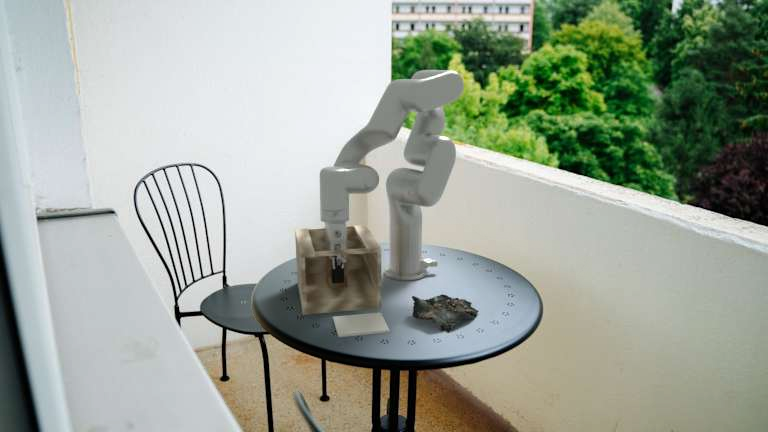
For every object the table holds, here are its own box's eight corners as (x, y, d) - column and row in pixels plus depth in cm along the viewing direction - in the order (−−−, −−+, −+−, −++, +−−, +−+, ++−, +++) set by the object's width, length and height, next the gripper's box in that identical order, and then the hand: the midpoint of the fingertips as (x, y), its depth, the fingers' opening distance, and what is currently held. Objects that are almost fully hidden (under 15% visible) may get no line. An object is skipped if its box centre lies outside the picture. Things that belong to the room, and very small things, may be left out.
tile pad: (380, 314, 145) (380, 312, 144) (389, 332, 135) (389, 329, 135) (332, 318, 142) (332, 316, 142) (338, 337, 133) (338, 334, 133)
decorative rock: (432, 282, 156) (486, 288, 148) (433, 304, 157) (486, 311, 149) (400, 303, 139) (459, 311, 132) (401, 327, 140) (459, 336, 133)
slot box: (366, 277, 169) (365, 224, 165) (381, 307, 148) (381, 248, 144) (297, 283, 165) (295, 229, 161) (303, 314, 145) (300, 253, 140)
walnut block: (344, 280, 159) (344, 256, 157) (347, 287, 154) (347, 262, 152) (326, 281, 158) (325, 257, 156) (328, 288, 153) (328, 263, 152)
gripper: (354, 222, 144) (354, 287, 148) (344, 206, 160) (344, 265, 164) (323, 223, 142) (325, 289, 146) (317, 207, 159) (318, 266, 163)
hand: (335, 276), depth 155 cm, fingers open, 9 cm apart
